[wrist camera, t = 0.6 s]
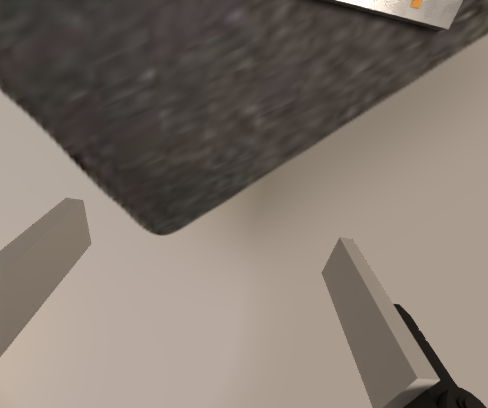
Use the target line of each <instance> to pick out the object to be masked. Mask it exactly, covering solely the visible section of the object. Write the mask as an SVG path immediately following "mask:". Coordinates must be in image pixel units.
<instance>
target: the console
mask: <svg viewBox="0 0 488 408" xmlns="http://www.w3.org/2000/svg"><path fill="white" fill-rule="evenodd" d="M322 1H326V2H330V3H334V4H338V5H342V6H346V7H349V8H353V9H357V10H361V11H365V12H369V13H373V14H376V15H380V16H384V17H388V18H392V19H396V20H399V21H403V22H407V23H411V24H415V25H419V26H423V27H426V28H430V29H434V30H438V31H441V30H447V29H449V27H450V25H451V23H452V21H453V19H454V17H455V15H456V13H457V11H458V9H459V7H460V5H461V3H462V1H463V0H322Z"/></svg>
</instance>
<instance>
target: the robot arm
mask: <svg viewBox="0 0 488 408" xmlns="http://www.w3.org/2000/svg"><path fill="white" fill-rule="evenodd" d="M90 245H91V239H90V234H89V229H88V223H87V218H86V213H85V208H84V202H83V200H76V199H70V198H65V199H64V200H63V201H62V202H60V203H59V204H58V205H57V206H56V207H54V208H53V209H52V210H50V211H49V212H48V213H47V214H46V215H44V216H43V217H42V218H41V219H39V220H38V221H37V222H36V223H35V224H33V225H32V226H31V227H29V228H28V229H27V230H26V231H24V232H23V233H22V234H21V235H20V236H18V237H17V238H16V239H14V240H13V241H12V242H11V243H9V244H8V245H7V246H6V247H4V248H3V249H2V250H1V251H0V357H1V355H2V354H3V353H4V352H5V350H6V349H7V348H8V347H9V346H10V344H11V343H12V342H13V341H14V339H15V338H16V337H17V335H18V334H19V333H20V332H21V331H22V329H23V328H24V327H25V326H26V324H27V323H28V322H29V321H30V319H31V318H32V317H33V316H34V314H35V313H36V312H37V311H38V309H39V308H40V307H41V306H42V304H43V303H44V302H45V301H46V299H47V298H48V297H49V296H50V294H51V293H52V292H53V291H54V289H55V288H56V287H57V286H58V284H59V283H60V282H61V281H62V279H63V278H64V277H65V276H66V275H67V273H68V272H69V271H70V269H71V268H72V267H73V266H74V265H75V263H76V262H77V261H78V260H79V258H80V257H81V256H82V255H83V253H84V252H85V251H86V250H87V248H88V247H89V246H90ZM322 275H323V278H324V280H325V283H326V285H327V288H328V291H329V293H330V296H331V299H332V301H333V304H334V306H335V309H336V312H337V314H338V317H339V320H340V322H341V325H342V328H343V330H344V333H345V335H346V338H347V341H348V344H349V346H350V349H351V351H352V354H353V357H354V359H355V362H356V364H357V367H358V370H359V373H360V375H361V378H362V380H363V383H364V386H365V388H366V391H367V393H368V396H369V399H370V402H371V404H372V407H373V408H486V407H485V406H484V404H483V403H482V402H481V401H480V400H479V399H477V398H476V397H475V396H474V395H473V394H471V393H470V392H468V391H466V390H464V389H462V388H459V387H458V386H457V385H456V384H455V382H454V381H453V379H452V378H451V377H450V375H449V373H448V372H447V370H446V369H445V367H444V366H443V364H442V363H441V361H440V360H439V358H438V357H437V355H436V354H435V352H434V351H433V349H432V348H431V346H430V345H429V343H428V342H427V341H426V340H425V337H424V336H423V334H422V332H421V331H419V328H418V326H417V325H416V323H415V322H414V320H413V319H412V317H411V316H410V315H409V314H408V313H407V312H406V311H405V310H404V309H403V308H402V307H401V306H400V305H399V304H393V303H392V302H391V300H390V298H389V297H388V295H387V294H386V292H385V290H384V289H383V287H382V285H381V284H380V282H379V281H378V279H377V278H376V276H375V274H374V273H373V271H372V269H371V268H370V266H369V265H368V263H367V261H366V260H365V258H364V256H363V255H362V253H361V252H360V250H359V248H358V247H357V245H356V244H355V242H354V240H353V239H347V238H339V240H338V242H337V244H336V246H335V248H334V249H333V251H332V253H331V255H330V257H329V259H328V261H327V263H326V265H325V267H324V269H323V271H322Z"/></svg>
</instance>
